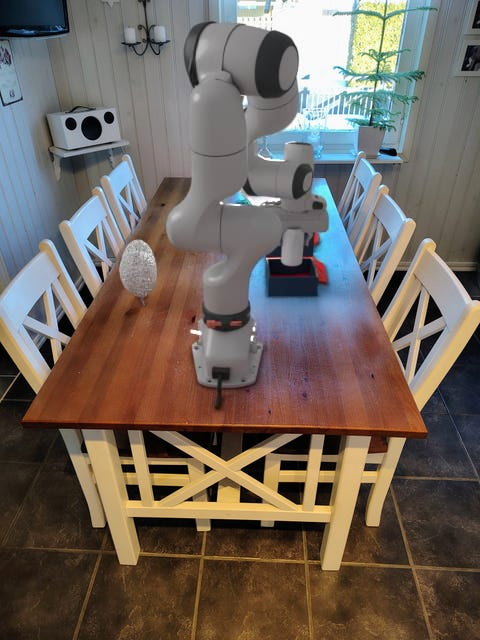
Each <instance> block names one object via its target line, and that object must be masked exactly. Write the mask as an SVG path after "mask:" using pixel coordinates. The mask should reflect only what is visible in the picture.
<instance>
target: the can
mask: <svg viewBox="0 0 480 640" xmlns="http://www.w3.org/2000/svg"><path fill="white" fill-rule="evenodd" d="M282 241H283V243H282V244H283V246H282V255H281V262H282V263H283V264H284V265H286V266H292V267H293V266H298V265H300V264H301V263H302V256H303V244H304V232H303V231H302V228H300V229H290V228H288V229H287V231H286V232H285V233H283V236H282Z"/></svg>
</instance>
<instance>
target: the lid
mask: <svg viewBox="0 0 480 640" xmlns="http://www.w3.org/2000/svg"><path fill="white" fill-rule="evenodd" d="M282 236H283V233H282ZM307 236H308V233H304V239H306V237H307ZM314 236H315V233H313V236H312V238H311V239H310V240H309V243H308V246H303V256H302V257H313V256H314V248H315V246H314ZM281 239H282V237H281ZM281 255H282V246H277V247H276V249H275V250H274V251H272V252H271V253H269V254H268V255H266V256H265V258H266V257H281Z"/></svg>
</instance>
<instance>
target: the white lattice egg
mask: <svg viewBox="0 0 480 640" xmlns="http://www.w3.org/2000/svg"><path fill="white" fill-rule="evenodd" d="M157 269H158V268H157V262H156V258H155V254H154V253H153V251H152V249H151V247H150V245H148V244H147V243H146V242H145V241H143V239H134V240H132V241H130V242H129V243H128V244H127V245H126V247H125V248H124V251H123V254H122V257H121V260H120V263H119V277H120V281H121V283H122V285H123V287H124V288H125V290H126V291H127V292H128V293H130V294H131V295H133V296H134V297H137V298H140V301H141V302H142V304H143V306H145V300H144V298H146V297H148V296H149V295H150V294H151V293H152V292H153V291H154V289H155V287H156V285H157V284H156V283H157V278H158V277H157V276H158V270H157Z"/></svg>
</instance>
